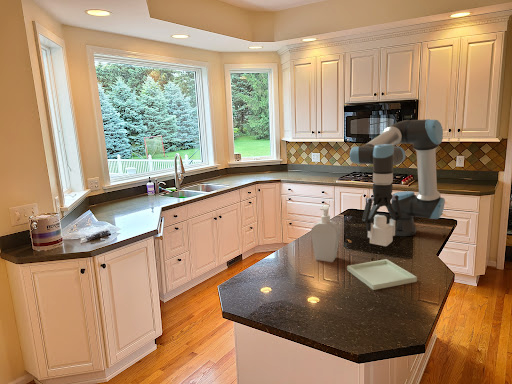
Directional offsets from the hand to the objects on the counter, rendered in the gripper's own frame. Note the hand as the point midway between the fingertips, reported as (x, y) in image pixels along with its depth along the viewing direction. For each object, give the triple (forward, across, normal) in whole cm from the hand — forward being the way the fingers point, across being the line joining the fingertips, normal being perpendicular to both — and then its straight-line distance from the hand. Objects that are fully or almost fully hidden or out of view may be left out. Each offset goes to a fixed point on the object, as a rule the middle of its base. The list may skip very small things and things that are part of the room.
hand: (381, 236), depth 149 cm
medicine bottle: (+3, 0, 0) cm, 3 cm away
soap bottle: (+18, +12, -26) cm, 34 cm away
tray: (+17, 0, 0) cm, 17 cm away
